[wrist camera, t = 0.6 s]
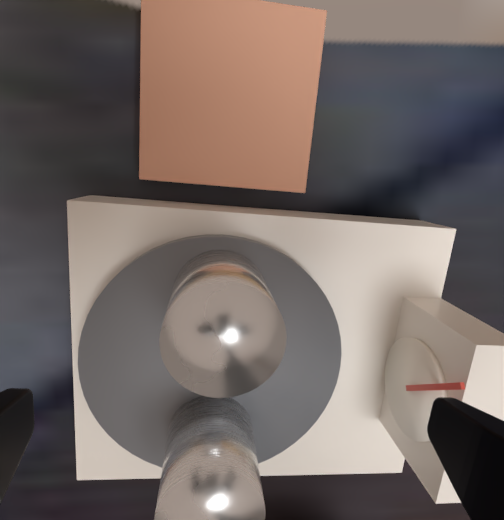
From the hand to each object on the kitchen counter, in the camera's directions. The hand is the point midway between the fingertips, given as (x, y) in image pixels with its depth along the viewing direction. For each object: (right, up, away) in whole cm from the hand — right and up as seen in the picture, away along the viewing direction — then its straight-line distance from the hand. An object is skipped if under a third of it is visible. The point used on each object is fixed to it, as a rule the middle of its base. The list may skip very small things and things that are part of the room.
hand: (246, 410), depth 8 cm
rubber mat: (-1, +11, +9) cm, 14 cm away
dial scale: (0, -1, +12) cm, 12 cm away
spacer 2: (-2, -5, +9) cm, 11 cm away
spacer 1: (-1, +2, +8) cm, 8 cm away
